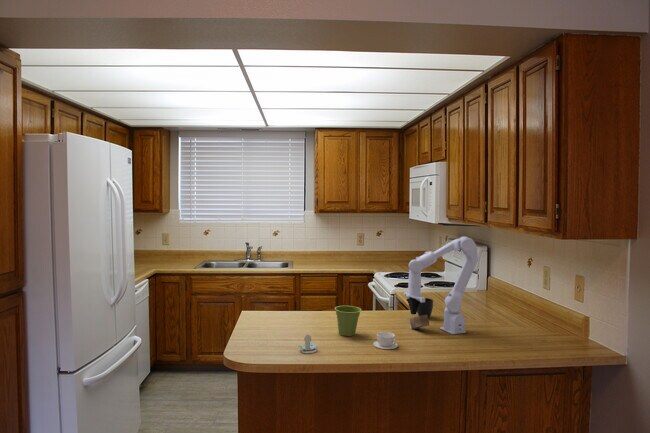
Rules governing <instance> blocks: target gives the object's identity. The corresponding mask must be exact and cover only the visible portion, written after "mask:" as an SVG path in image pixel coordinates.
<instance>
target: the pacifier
mask: <svg viewBox="0 0 650 433" xmlns="http://www.w3.org/2000/svg"><path fill="white" fill-rule="evenodd" d="M303 340H304V346H303V345H298V348H300V349H301V351H300V352H301V353H303V354H314V353H316V352H318V349H317V346H318V344H317V343H316V342H312V337H311V334H305V336H304V337H303ZM311 342H312V343H311Z"/></svg>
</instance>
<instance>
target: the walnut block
mask: <svg viewBox="0 0 650 433" xmlns="http://www.w3.org/2000/svg"><path fill="white" fill-rule="evenodd" d="M429 320H430V319H428V315H422V316H418V315H417V316H414V317H411V318H408V323H409V328H410V329H411V330H412V329H413V330H414V329H419V328H424V327H427V326H430V325H431V324H430V321H429Z"/></svg>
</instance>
